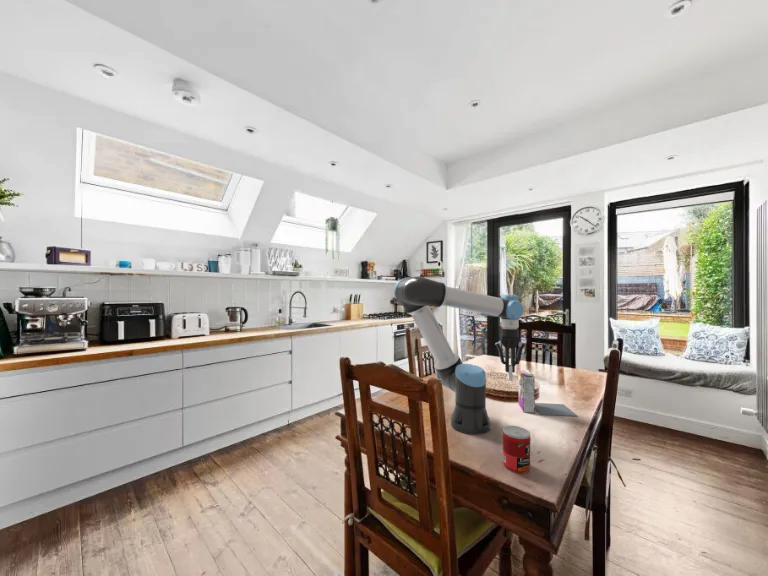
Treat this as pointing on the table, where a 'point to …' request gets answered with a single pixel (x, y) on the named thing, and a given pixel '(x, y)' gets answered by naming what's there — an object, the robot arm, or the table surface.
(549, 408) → the mat
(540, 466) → the table surface
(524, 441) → the canned food
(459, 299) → the robot arm
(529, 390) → the candy bar box
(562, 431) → the table surface
